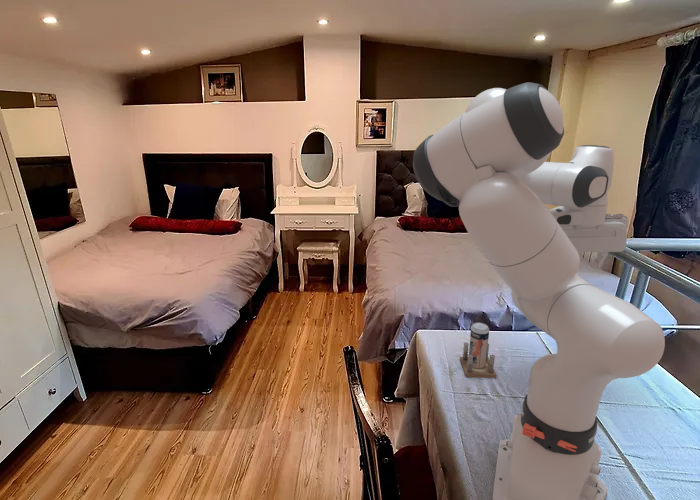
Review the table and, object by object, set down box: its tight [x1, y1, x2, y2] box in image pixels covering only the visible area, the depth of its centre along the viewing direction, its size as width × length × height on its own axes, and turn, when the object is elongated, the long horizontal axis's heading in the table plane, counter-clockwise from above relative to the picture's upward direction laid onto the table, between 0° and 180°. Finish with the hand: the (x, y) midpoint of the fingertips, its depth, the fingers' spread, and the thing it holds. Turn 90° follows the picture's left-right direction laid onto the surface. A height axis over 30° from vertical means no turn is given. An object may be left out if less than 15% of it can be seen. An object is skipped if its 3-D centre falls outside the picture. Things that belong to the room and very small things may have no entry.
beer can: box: [468, 322, 490, 368], centre depth 101 cm, size 5×5×12 cm
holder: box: [459, 342, 498, 379], centre depth 102 cm, size 8×8×6 cm
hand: (575, 267), depth 94 cm, fingers open, 8 cm apart
